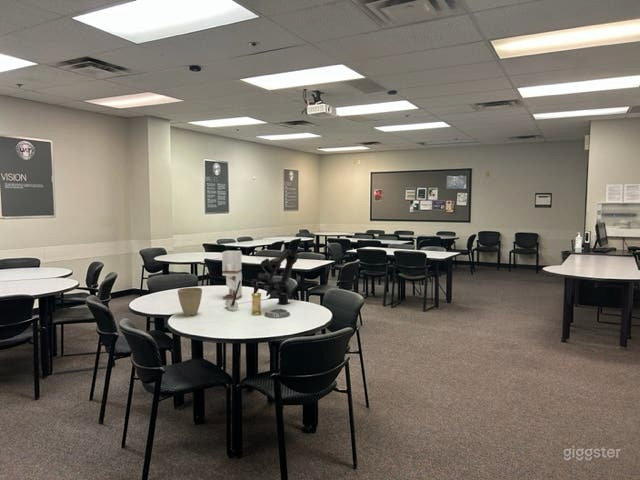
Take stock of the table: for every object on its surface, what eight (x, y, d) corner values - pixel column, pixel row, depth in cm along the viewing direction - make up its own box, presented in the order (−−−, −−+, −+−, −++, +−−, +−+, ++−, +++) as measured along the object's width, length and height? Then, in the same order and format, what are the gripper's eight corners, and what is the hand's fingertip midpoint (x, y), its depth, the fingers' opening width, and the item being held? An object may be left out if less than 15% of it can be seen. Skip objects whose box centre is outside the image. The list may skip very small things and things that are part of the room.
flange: (266, 311, 291) (266, 308, 291) (291, 312, 290) (291, 308, 290) (262, 317, 275) (262, 313, 275) (288, 318, 274) (288, 314, 274)
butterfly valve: (223, 305, 307) (224, 308, 291) (232, 277, 309) (233, 279, 293) (235, 309, 309) (237, 312, 293) (244, 281, 311) (246, 282, 294)
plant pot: (181, 312, 290) (180, 287, 289) (204, 311, 291) (204, 287, 290) (175, 317, 275) (174, 291, 274) (200, 317, 276) (199, 291, 275)
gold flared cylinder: (256, 312, 289) (256, 292, 288) (263, 313, 286) (263, 293, 285) (249, 314, 284) (249, 293, 283) (256, 315, 281) (256, 295, 280)
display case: (228, 296, 340) (227, 250, 338) (241, 297, 339) (241, 250, 336) (222, 299, 329) (222, 252, 327) (236, 300, 328) (236, 252, 325)
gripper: (252, 267, 296) (242, 286, 287) (277, 269, 288) (268, 288, 279) (258, 277, 304) (249, 296, 294) (283, 279, 296) (274, 299, 287)
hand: (260, 295), depth 288 cm, fingers open, 9 cm apart
